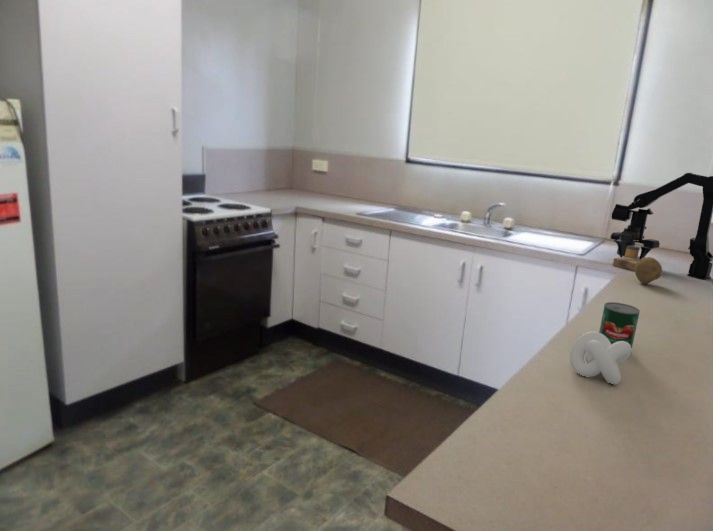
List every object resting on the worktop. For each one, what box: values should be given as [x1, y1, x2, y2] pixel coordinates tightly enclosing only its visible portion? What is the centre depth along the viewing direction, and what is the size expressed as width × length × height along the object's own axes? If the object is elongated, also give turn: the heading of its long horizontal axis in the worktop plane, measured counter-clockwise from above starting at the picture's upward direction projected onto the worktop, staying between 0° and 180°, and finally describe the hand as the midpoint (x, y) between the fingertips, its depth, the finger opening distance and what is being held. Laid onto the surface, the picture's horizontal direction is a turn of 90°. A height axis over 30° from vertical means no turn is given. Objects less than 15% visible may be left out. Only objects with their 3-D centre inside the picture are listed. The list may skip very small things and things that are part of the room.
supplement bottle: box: [616, 227, 637, 257], centre depth 252 cm, size 7×7×12 cm
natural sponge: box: [634, 256, 663, 285], centre depth 202 cm, size 9×9×10 cm
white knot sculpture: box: [569, 330, 633, 385], centre depth 118 cm, size 11×12×9 cm
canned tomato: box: [598, 301, 641, 349], centre depth 135 cm, size 8×8×11 cm
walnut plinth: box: [612, 256, 639, 272], centre depth 227 cm, size 10×10×3 cm
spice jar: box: [623, 245, 641, 259], centre depth 235 cm, size 5×5×7 cm
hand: (630, 259), depth 236 cm, fingers open, 8 cm apart
